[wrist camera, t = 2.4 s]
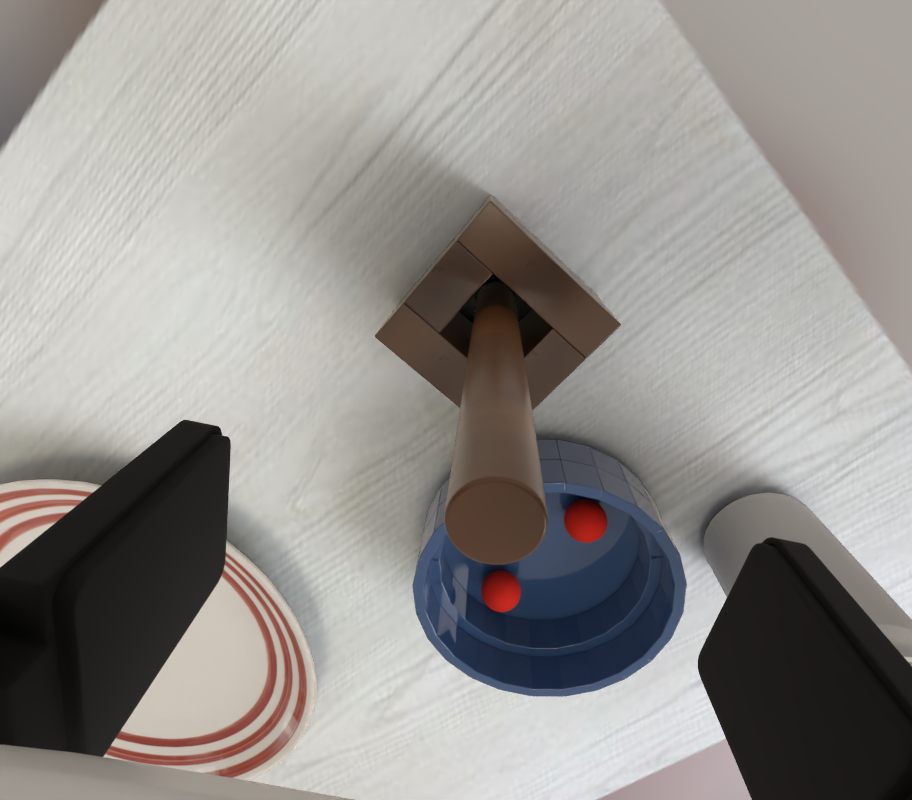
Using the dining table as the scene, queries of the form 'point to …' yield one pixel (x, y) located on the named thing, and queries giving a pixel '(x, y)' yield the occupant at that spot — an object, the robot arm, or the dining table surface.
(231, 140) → the dining table surface
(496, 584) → the tomato
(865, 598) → the beverage can
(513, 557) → the stirring stick
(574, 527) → the tomato
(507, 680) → the bowl
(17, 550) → the dinner plate
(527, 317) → the holder
